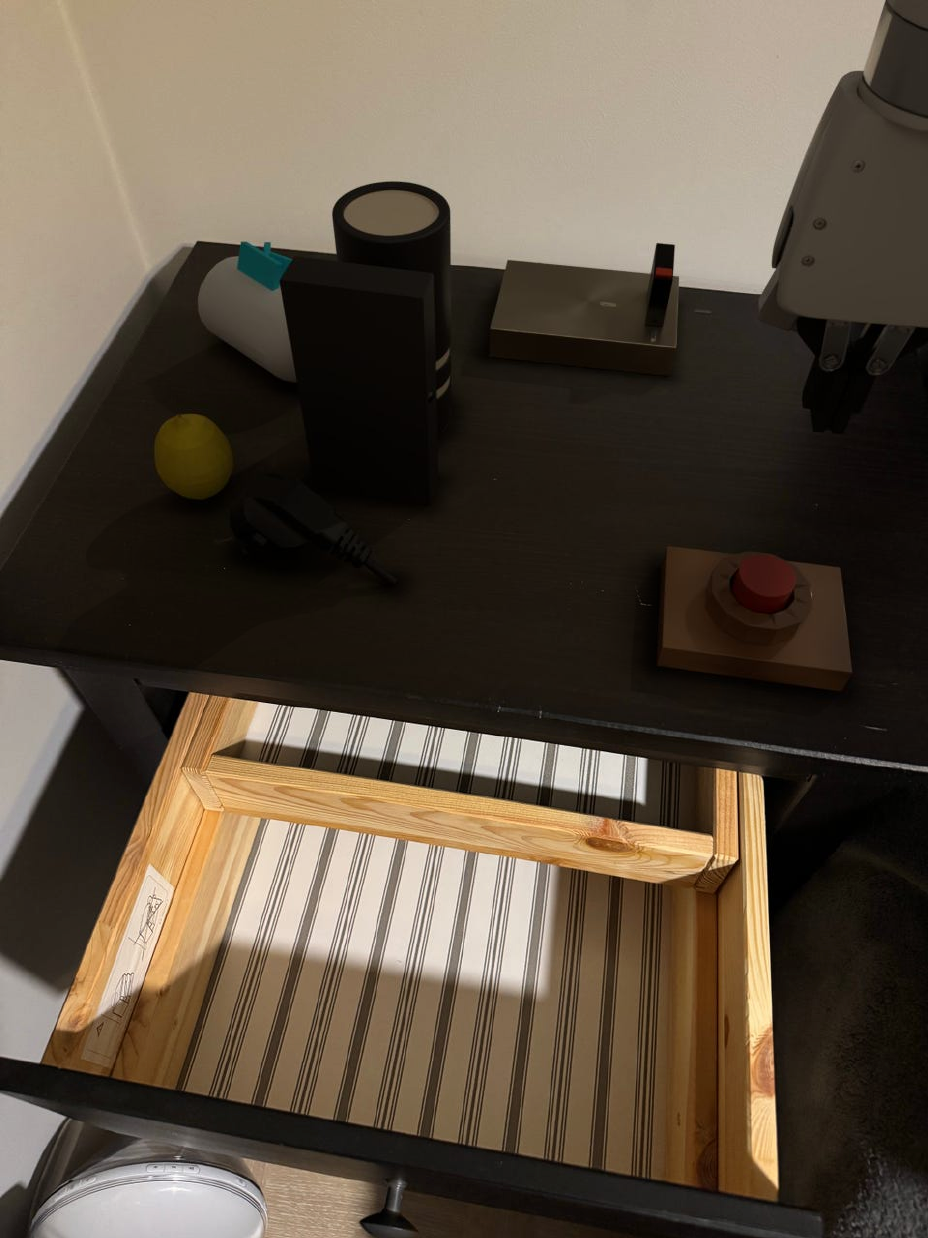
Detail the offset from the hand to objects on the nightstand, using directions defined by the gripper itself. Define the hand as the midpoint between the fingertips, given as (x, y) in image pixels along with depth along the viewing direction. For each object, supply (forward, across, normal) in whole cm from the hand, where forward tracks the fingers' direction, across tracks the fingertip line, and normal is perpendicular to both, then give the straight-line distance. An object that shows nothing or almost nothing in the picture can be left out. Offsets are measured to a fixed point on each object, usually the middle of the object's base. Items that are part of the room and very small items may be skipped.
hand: (825, 416), depth 51 cm
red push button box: (+16, +1, +3) cm, 16 cm away
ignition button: (+13, +1, +3) cm, 13 cm away
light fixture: (+16, +28, -12) cm, 35 cm away
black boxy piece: (+13, +8, -30) cm, 33 cm away
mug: (+16, +39, -23) cm, 48 cm away
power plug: (+16, +31, +2) cm, 35 cm away
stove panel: (+16, +13, -30) cm, 36 cm away
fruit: (+16, +42, -4) cm, 45 cm away
